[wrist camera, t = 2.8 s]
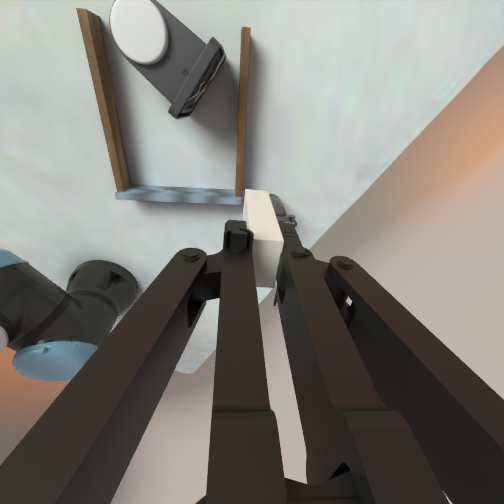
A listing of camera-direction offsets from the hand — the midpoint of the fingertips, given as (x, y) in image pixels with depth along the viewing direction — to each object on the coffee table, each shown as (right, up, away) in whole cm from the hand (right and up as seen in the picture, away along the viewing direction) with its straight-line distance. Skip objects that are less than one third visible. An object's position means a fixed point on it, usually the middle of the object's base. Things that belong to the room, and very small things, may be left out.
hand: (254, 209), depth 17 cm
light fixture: (-12, +28, +23) cm, 38 cm away
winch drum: (+4, +7, +37) cm, 38 cm away
